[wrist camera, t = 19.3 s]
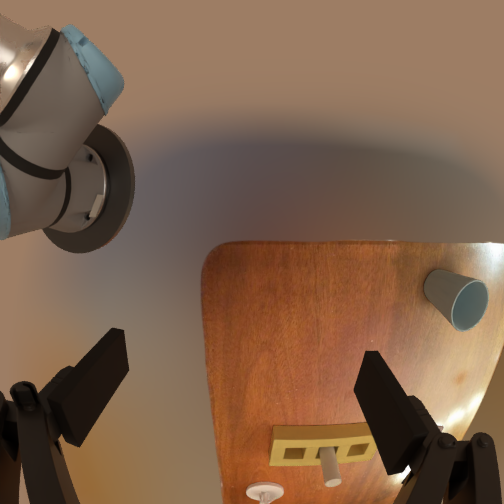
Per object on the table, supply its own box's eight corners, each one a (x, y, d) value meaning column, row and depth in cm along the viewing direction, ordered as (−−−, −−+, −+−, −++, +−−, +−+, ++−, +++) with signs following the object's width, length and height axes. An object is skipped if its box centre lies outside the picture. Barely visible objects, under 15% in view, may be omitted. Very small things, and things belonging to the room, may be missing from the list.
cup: (458, 268, 40) (495, 286, 30) (443, 309, 42) (475, 334, 32) (428, 257, 40) (465, 274, 30) (412, 301, 42) (443, 327, 32)
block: (366, 447, 49) (371, 459, 45) (268, 452, 50) (268, 465, 46) (379, 420, 47) (384, 433, 43) (273, 425, 48) (273, 439, 44)
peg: (315, 443, 49) (323, 487, 37) (318, 434, 48) (327, 479, 36) (329, 443, 49) (339, 486, 37) (332, 434, 48) (343, 478, 36)
